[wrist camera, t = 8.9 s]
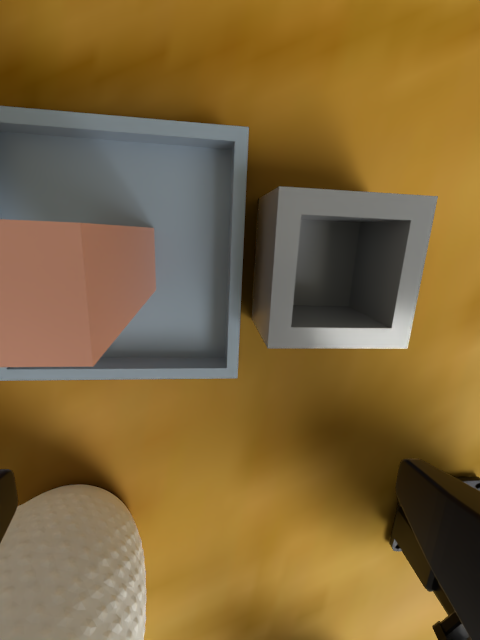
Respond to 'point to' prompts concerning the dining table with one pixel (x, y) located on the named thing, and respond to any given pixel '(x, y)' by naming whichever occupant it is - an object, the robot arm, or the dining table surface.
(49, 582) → the mug
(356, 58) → the dining table surface
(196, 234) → the tray
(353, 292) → the hollow square socket
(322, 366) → the dining table surface
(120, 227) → the peg
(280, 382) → the dining table surface
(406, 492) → the robot arm
